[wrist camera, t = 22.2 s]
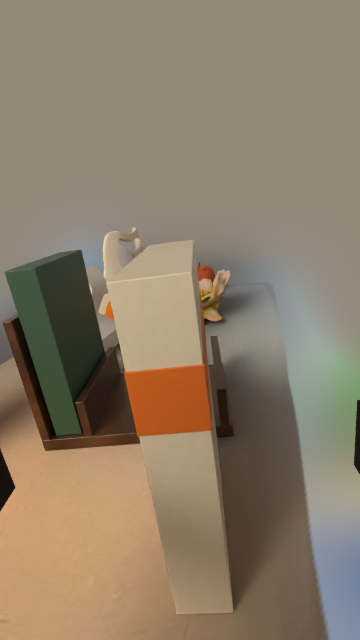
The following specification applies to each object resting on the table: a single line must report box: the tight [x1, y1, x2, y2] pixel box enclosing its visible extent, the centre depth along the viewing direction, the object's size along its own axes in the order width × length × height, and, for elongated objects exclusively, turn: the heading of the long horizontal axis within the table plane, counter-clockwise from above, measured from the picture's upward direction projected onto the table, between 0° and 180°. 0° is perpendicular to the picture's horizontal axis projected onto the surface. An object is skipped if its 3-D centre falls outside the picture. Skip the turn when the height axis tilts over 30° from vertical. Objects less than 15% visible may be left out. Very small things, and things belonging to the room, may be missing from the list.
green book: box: [5, 250, 105, 436], centre depth 33 cm, size 3×11×16 cm, turn 177°
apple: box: [197, 263, 215, 284], centre depth 75 cm, size 7×7×8 cm
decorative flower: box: [199, 269, 230, 321], centre depth 61 cm, size 15×11×10 cm
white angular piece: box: [86, 265, 119, 353], centre depth 49 cm, size 8×14×14 cm, turn 164°
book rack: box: [3, 313, 234, 451], centre depth 34 cm, size 18×12×13 cm, turn 87°
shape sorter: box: [98, 227, 143, 319], centre depth 64 cm, size 20×10×18 cm, turn 162°
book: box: [107, 240, 234, 614], centre depth 19 cm, size 3×11×18 cm, turn 177°
